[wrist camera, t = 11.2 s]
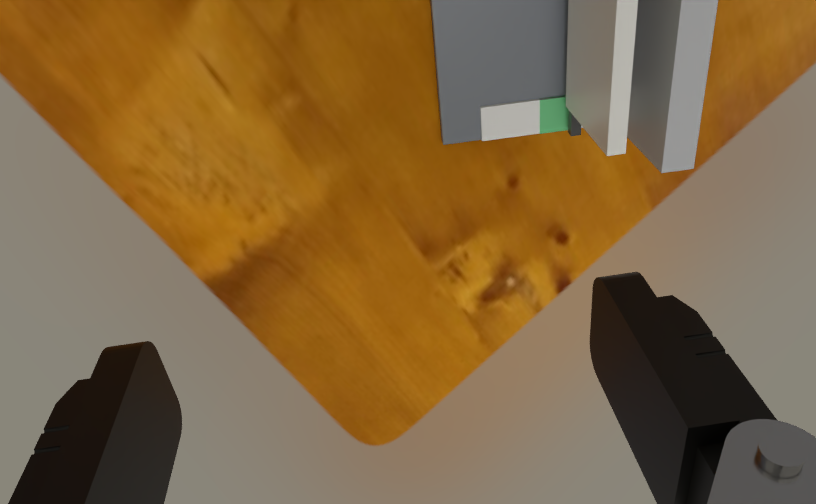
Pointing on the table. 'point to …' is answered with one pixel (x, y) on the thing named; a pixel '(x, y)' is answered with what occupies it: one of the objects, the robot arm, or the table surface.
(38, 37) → the table surface
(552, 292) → the table surface
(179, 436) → the robot arm
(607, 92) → the panel
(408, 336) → the table surface
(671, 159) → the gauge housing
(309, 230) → the table surface
